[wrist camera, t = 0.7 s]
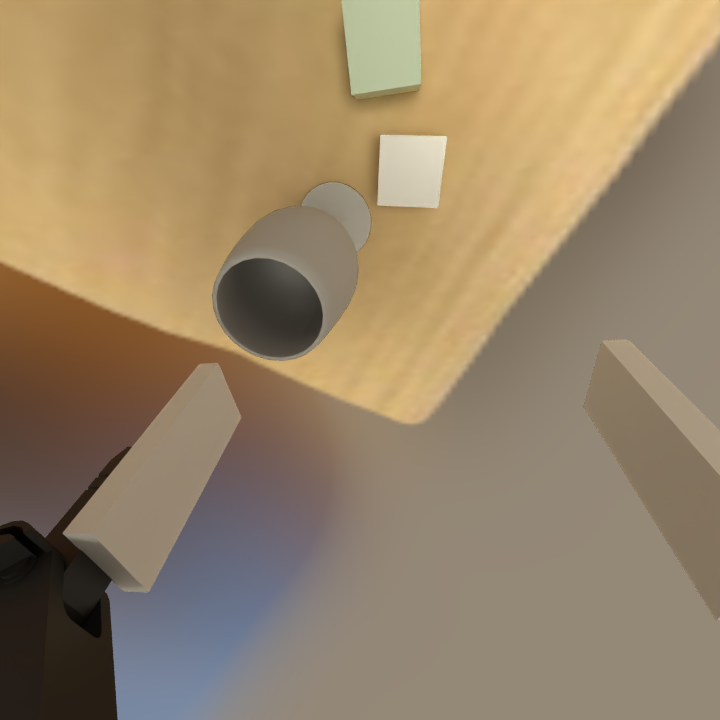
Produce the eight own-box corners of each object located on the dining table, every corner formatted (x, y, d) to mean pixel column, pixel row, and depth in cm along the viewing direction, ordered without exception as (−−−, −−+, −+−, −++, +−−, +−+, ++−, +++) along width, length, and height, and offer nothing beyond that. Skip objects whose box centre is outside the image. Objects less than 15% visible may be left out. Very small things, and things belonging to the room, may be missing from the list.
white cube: (383, 134, 31) (380, 134, 27) (441, 135, 31) (447, 136, 27) (380, 196, 34) (377, 205, 30) (433, 198, 34) (437, 207, 30)
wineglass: (369, 175, 33) (331, 226, 16) (376, 257, 37) (352, 371, 20) (290, 183, 34) (171, 241, 17) (305, 262, 38) (222, 376, 21)
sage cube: (350, 20, 28) (341, 0, 23) (416, 7, 27) (418, -15, 23) (358, 99, 30) (351, 94, 26) (418, 90, 30) (421, 83, 25)
